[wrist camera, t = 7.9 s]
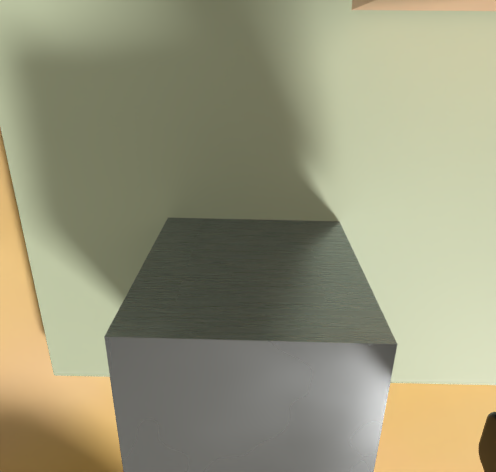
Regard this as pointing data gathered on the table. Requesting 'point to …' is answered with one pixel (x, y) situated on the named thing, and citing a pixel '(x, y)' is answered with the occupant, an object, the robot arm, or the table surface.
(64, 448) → the table surface
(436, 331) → the board
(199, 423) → the gray metal block
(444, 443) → the table surface
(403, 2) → the cover
